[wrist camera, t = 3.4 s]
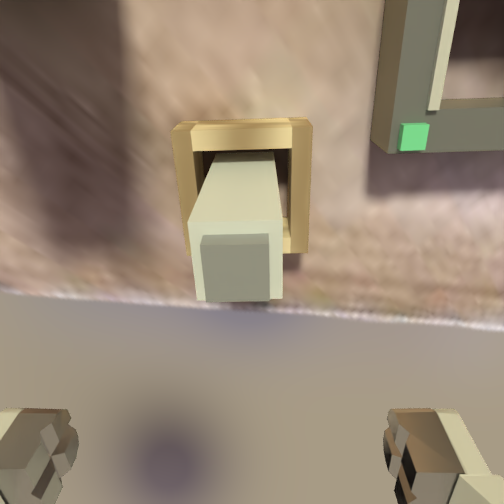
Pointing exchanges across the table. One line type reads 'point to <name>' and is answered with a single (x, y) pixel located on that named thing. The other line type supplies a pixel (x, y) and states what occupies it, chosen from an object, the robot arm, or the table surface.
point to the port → (426, 86)
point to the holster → (243, 138)
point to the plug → (238, 230)
